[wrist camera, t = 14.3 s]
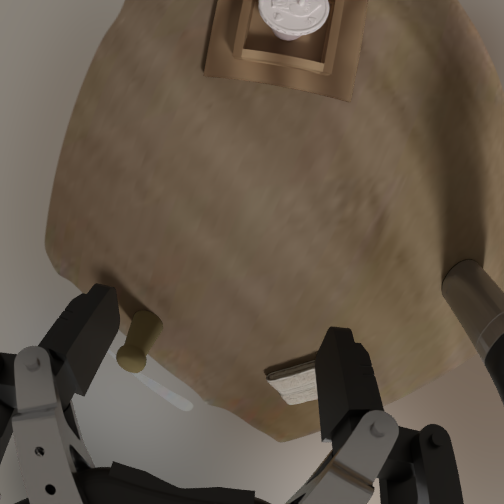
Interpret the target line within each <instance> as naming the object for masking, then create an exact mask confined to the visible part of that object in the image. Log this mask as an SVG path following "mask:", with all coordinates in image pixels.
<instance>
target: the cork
mask: <svg viewBox="0 0 504 504" xmlns="http://www.w3.org/2000/svg"><path fill="white" fill-rule="evenodd" d="M162 329H163V324H162V322H161V320H160V319H159V318H158V317H157V316H156V315H155V314H153V313H151V312H149V311H144V310H142V311H138V312H136V313H135V314H134V316H133V319H132V322H131V325H130V328H129V331H128V335H127V338H126V341H125V344H124V346H122V347H120V349H119V350H118V352H117V355H116V359H117V362H118V364H119V365H120V366H121V367H122V368H123V369H124V370H126V371H128V372H132V373H138V372H140V371H142V370H143V369H144V367H145V365H146V355H147V354H148V352H149V350H150V349H151V347H152V346H153V344H154V342H155V341H156V339H157V338H158V336H159V335H160V333H161V331H162Z"/></svg>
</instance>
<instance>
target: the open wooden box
mask: <svg viewBox="0 0 504 504" xmlns="http://www.w3.org/2000/svg"><path fill="white" fill-rule="evenodd" d="M328 2H329V14H328V17H327V19H326V21H325V23H324V24H323V25H322V26H321V28H319V29H318V30H316V31H315V32H312V33H310V34H307V35H302V36H300V37H299V38H297V39H295V40H291V41H286V40H282V39H280V38H278V37H277V36H276V35H275V34H274V32H273V31H272V29H271V27H270V26H269V25H267V24H266V23H265V22H264V20H263V19H262V17H261V15H260V12H259V8H258V5H259V0H218V2H217V7H216V12H215V16H214V21H213V26H212V31H211V36H210V42H209V47H208V53H207V58H206V64H205V70H204V76H208V77H219V78H228V79H237V80H244V81H252V82H258V83H265V84H271V85H276V86H282V87H287V88H292V89H297V90H302V91H306V92H311V93H315V94H319V95H324V96H328V97H331V98H335V99H339V100H343V101H346V102H351V97H352V92H353V87H354V82H355V77H356V72H357V66H358V61H359V55H360V49H361V43H362V37H363V31H364V25H365V18H366V11H367V4H368V0H328Z"/></svg>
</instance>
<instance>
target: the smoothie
mask: <svg viewBox="0 0 504 504" xmlns="http://www.w3.org/2000/svg"><path fill="white" fill-rule="evenodd" d="M258 8H259V12H260V15H261V17H262V19H263V20H264V22H265V23H266V24H267V25H269V26H270V27H271V29H272V31H273V32H274V34H275V35H276V36H277V37H278V38H280V39H282V40H286V41H291V40H295V39H297V38H299V37H300V36H302V35H307V34H310V33H312V32H315V31H316V30H318V29H319V28H321V26H322V25H323V24H324V23H325V21H326V19H327V17H328V14H329V2H328V0H259V5H258Z"/></svg>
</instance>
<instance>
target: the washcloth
mask: <svg viewBox="0 0 504 504" xmlns="http://www.w3.org/2000/svg"><path fill="white" fill-rule="evenodd" d="M266 380H267V381H268V382H269V384H270V385H271V386H273V387H274V388H275V389H277V391H278V392H279V394H280V395H281V397H282V398H283V399H284V400H285V401H286V403H287V404H290V405H294V404H298V403H302V402H306V401H311V400H315V399H318V394H317V384H316V375H315V360H313V361H310V362H307V363H303V364H300V365H297V366H294V367H290V368H287V369H283V370H280V371H276V372H272V373H270V374H268V375H267V377H266Z"/></svg>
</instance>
